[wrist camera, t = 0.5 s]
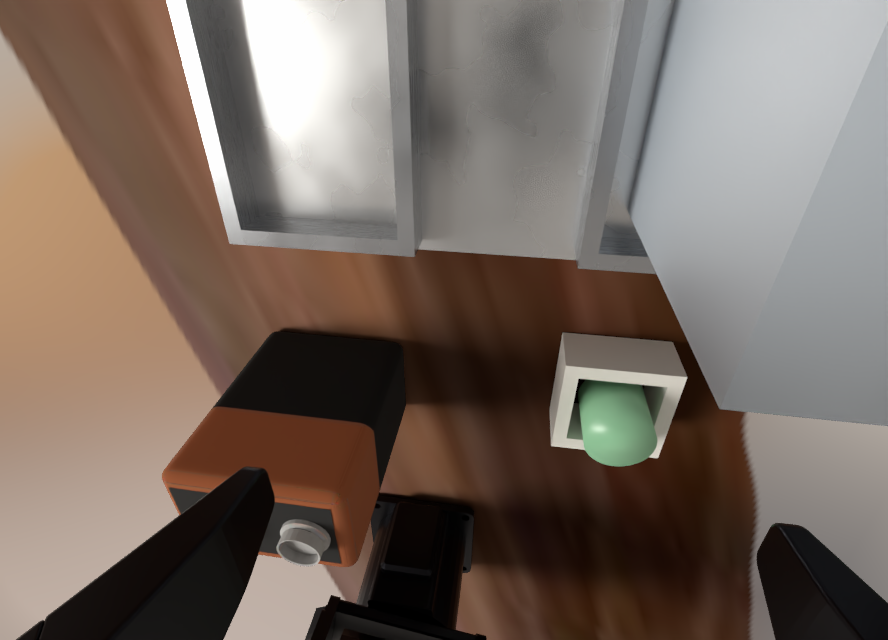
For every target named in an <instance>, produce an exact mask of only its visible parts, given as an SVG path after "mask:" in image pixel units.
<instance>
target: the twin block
mask: <svg viewBox="0 0 888 640" xmlns="http://www.w3.org/2000/svg"><path fill="white" fill-rule="evenodd" d="M628 213H629V215H630V218H631V220H632V222H633V224H634V226H635V228H636V231H637V233H638V235H639V237H640V239H641V241H642V243H643V246H644V248H645V250H646V252H647V254H648V256H649V258H650V261H651V263H652V265H653V267H654V269H655V271H656V274H657V276H658V278H659V280H660V282H661V284H662V286H663V289H664V291H665V293H666V295H667V297H668V299H669V302H670V304H671V306H672V308H673V310H674V312H675V314H676V317H677V319H678V321H679V323H680V325H681V327H682V330H683V332H684V334H685V336H686V338H687V340H688V342H689V345H690V347H691V349H692V351H693V353H694V355H695V357H696V360H697V362H698V364H699V366H700V368H701V370H702V373H703V375H704V377H705V379H706V381H707V383H708V385H709V388H710V390H711V392H712V394H713V396H714V398H715V401H716V403H717V405H718V407H719V409H724V410H734V411H744V412H754V413H764V414H773V415H783V416H793V417H803V418H813V419H822V420H832V421H842V422H852V423H863V424H872V425H881V426H888V0H675V2H674V7H673V11H672V16H671V20H670V25H669V29H668V34H667V38H666V43H665V47H664V52H663V56H662V61H661V65H660V70H659V74H658V79H657V83H656V88H655V92H654V97H653V101H652V105H651V110H650V114H649V119H648V123H647V128H646V132H645V137H644V141H643V146H642V150H641V155H640V159H639V164H638V168H637V173H636V177H635V182H634V186H633V191H632V195H631V200H630V204H629V209H628Z"/></svg>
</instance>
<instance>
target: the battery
mask: <svg viewBox="0 0 888 640" xmlns="http://www.w3.org/2000/svg"><path fill="white" fill-rule="evenodd" d="M405 406H406V398H405V378H404V358H403V349H402V347H401V345H399V344H398V343H394V342H386V341H376V340H365V339H354V338H344V337H333V336H323V335H312V334H301V333H291V332H273V333H272V334H271V335H270V336H269V337H268V338H267V339H266V341H265V342H264V343H263V344H262V346H261V347H260V348H259V349H258V351H257V352H256V353H255V355H254V356H253V357H252V358H251V360H250V361H249V362H248V363H247V365H246V366H245V367H244V369H243V370H242V371H241V372H240V374H239V375H238V376H237V377H236V379H235V380H234V381H233V383H232V384H231V385H230V386H229V388H228V389H227V390H226V392H225V393H224V394H223V395H222V397H221V398H220V399H219V400H218V402H217V403H216V405H215V406H214V407H213V408H212V409H211V411H210V412H209V413H208V414H207V416H206V417H205V418H204V420H203V421H202V422H201V423H200V425H199V426H198V427H197V429H196V430H195V431H194V432H193V434H192V435H191V436H190V437H189V439H188V440H187V441H186V443H185V444H184V445H183V446H182V448H181V449H180V450H179V452H178V453H177V454H176V455H175V457H174V458H173V459H172V460H171V462H170V463H169V464H168V466H167V467H166V468H165V470H164V471H163V473H162V479H163V482H164V484H165V486H166V488H167V491H168V493H169V495H170V497H171V499H172V501H173V503H174V505H175V507H176V509H177V511H178V513H179V515H180V514H182V513H183V512H184V511H186V510H187V509H188V508H190V507H191V506H192V505H194V504H195V503H196V502H198V501H199V500H200V499H201V498H203V497H204V496H205V495H207V494H208V493H209V492H211V491H212V490H213V489H215V488H216V487H217V486H219V485H220V484H221V483H223V482H224V481H225V480H226V479H228V478H229V477H230V476H232V475H233V474H234V473H236V472H237V471H238V470H240V469H241V468H243V467H248V466H249V467H259V468H264V469H265V470H266V471H267V473H268V475H269V479H270V482H271V485H272V489H273V492H274V496H275V504H274V508H273V512H272V514H271V517H270V520H269V523H268V526H267V529H266V532H265V535H264V538H263V541H262V544H261V547H260V550H259V553H258V554H259V555H266V556H272V557H280V558H284V559H285V560H287V561H288V562H290V563H293V564H296V565H300V566H313V565H316V564H324V565H331V566H339V567H349V566H352V565H354V564H355V563H356V562H357V560H358V558H359V555H360V552H361V549H362V546H363V543H364V540H365V536H366V533H367V530H368V527H369V523H370V520H371V517H372V514H373V510H374V507H375V504H376V501H377V497H378V494H379V491H380V488H381V484H382V481H383V478H384V475H385V472H386V468H387V465H388V462H389V459H390V455H391V452H392V449H393V446H394V442H395V439H396V436H397V433H398V429H399V426H400V423H401V420H402V416H403V413H404V410H405Z"/></svg>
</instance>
